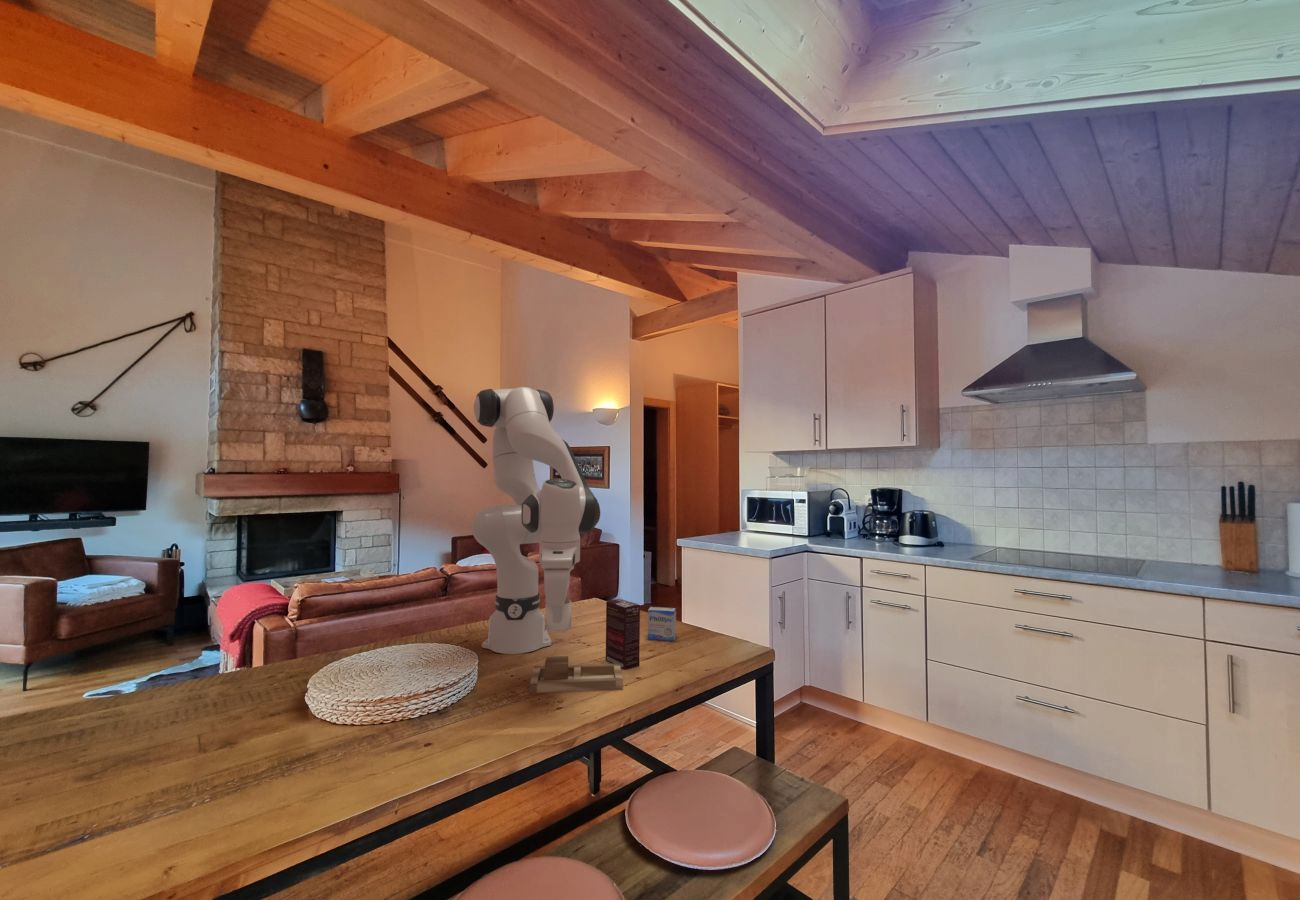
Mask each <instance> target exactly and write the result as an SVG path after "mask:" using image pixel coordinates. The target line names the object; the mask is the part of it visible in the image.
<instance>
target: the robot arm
mask: <svg viewBox="0 0 1300 900" xmlns="http://www.w3.org/2000/svg"><path fill="white" fill-rule="evenodd" d="M554 411H555V404H554V400H553V396H552V395H551V394H550V392H548V391H545V390H541V389H536V390H535V389H533V388H531V387H528V386H519V387H516V388H515V387H514V388H497V389H493V388H487V389H483V390H480V391H479V392H478V393H477V394H476V396H475V399H474V402H473V413H474V416H475V418H476V421H477V423H479V425H481V426H482V427H488V428H493V427H495V428H494V430H493V437H492V461H493V462H492V463H493V474H494V475H493V476H494V483H495V486H496V488H497V489H498V490H499V491H500V492H502V493H504V494H505V495H508V496H509V497H510V498H512V500H513V501H514V503H515V504H508V505H507V504H506V505H492V506H489V507H484V508H481V509H479V510H478V511H476V513H475V515H474V517H473V518H472V521H471V533H472V536H473V537H474V539H475V540H476V541H477V543H479V545H481V546H483V547H484V548H485V549H486V550H487V551H488V552H489V554H490V555H491V557H492V559H493V561H494V563H495V569H496V577H497V578H496V583H497V584H496V585H497V594H496V595H495V601H494V605H495V611H494V612H493V613H491V615H490V616H489V621H488V634H487V635H488V637H487V639H485V640H484V641H483V642H482V643H481V648H483V649H488V650H490V651H491V652H495V653H499V654H502V655H503V654H506V655H507V654H508V655H514V654H515V655H516V654H517V655H518V654H525V653H530V652H534V651H537V650H539V649H541V648H545V647H550V646H552V639H551V637H550V635H549V633H548V630H547V629H545V615H544V614H543V612H542V610H540V605H541V604H540V603H541V596H540V592H539V567H538V564H537V563H536V562H535V561H534V560H533V559H531V558H529V557H528V556H526V555H523V554H522V552H521V547H520V545H526V544H527V545H528V544H538V543H539V546H538V547H539V549H538V551H539V552H538V553H539V554H538V555H539V556H538V561H539V563H540V569H543V583H544V596H545V605H546V604H547V606H548V607H552V612H553V622H554V623H560V622H561V620H562V607H563V606H564V605H565V600H566V596H568V592H569V588H570V583H571V571H573V570H574V569H575V565H576V564H577V563H580V561H581V536H580V534H583V535H585V534H588V533H589V532H591V531H592V530H593V529H594V528H595V527H596V526H597V524H599V521H600V518H601V507H600V503H599V501H598V499H597V498H596V496H595V495H594V493H593V492H592V490H591V489H590V487H589V485H588V483H587V480H586V478H585V476H584V474H583V472H582V469H581V468H580V465H579V463H578V461H577V458H576V456H575V455H574V453H573V450H572V448H571V446H570V445H569V443H568V442H567V441H565V440H564V439H563V438H561V437H560V436H559V435H558V434H557V432H556V431H555V430H554V429H553V427H552V425H551V423H550V422H551V421H552V419H553V416H554ZM533 461H537V462H539V463H541V464H545V465H547V466H549V467H552V468H553V469H554V470H556V472H557V473H558V474H559V475H560V477H561V478H549V479H546V480H545V481H544V482H543V484H542V487H541V489H540V487H539V485H538V483H537V479H536V474H535V469H534V462H533Z"/></svg>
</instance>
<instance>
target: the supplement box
mask: <svg viewBox="0 0 1300 900" xmlns="http://www.w3.org/2000/svg"><path fill="white" fill-rule="evenodd" d="M605 604H606V605H605V608H606V609H605V610H606V611H605V615H606V616H605V661H606V662H607V663H609V664H616V663H620V667H621V670H624V671H626V670H630V669H633V668H638V667H640V644H641V643H640V639H641V638H640V633H641V632H640V631H641V629H640V627H641V624H640V623H641V605H640V604H638V603H635V602H632V601H629V600H626V599H622V598H615V599H609V600H606V603H605Z"/></svg>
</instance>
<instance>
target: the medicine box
mask: <svg viewBox="0 0 1300 900" xmlns="http://www.w3.org/2000/svg"><path fill="white" fill-rule="evenodd" d="M676 636H677V608H676V607H660V606H650V607H649V608H648V610H647V640H648V641H659V642H660V641H661V642H663V641H664V642H675V639H676V638H677V637H676Z"/></svg>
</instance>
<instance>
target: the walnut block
mask: <svg viewBox="0 0 1300 900" xmlns="http://www.w3.org/2000/svg"><path fill="white" fill-rule="evenodd" d="M568 665H569V655H562V656H561V655H560V656H559V655H557V656H556V655H555V656H553V655H552V656H546V657H545V662H544V666H545V678H544V680H565V679H568Z"/></svg>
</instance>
